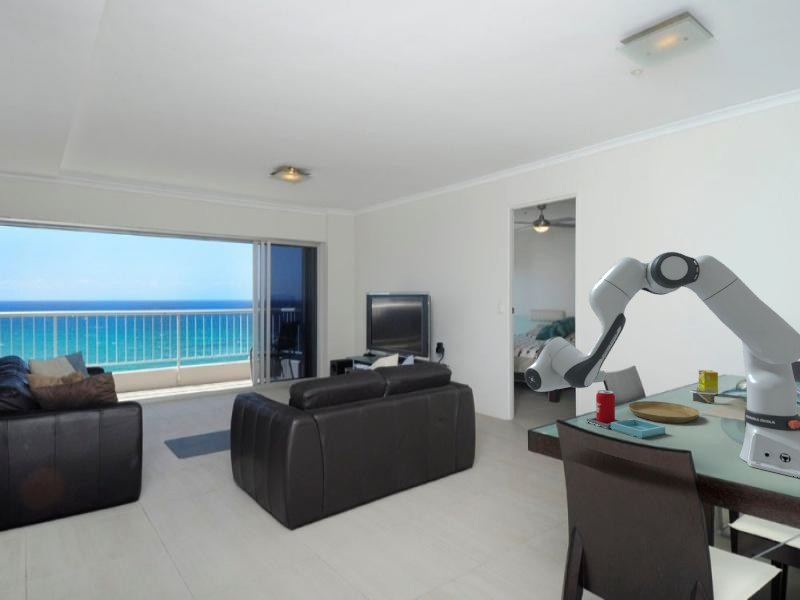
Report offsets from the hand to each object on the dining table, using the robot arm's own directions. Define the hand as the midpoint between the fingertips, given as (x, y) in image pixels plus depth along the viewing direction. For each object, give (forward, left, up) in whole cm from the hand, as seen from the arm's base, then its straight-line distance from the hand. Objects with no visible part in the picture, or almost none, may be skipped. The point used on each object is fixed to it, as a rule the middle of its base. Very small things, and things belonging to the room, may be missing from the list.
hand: (586, 370), depth 163 cm
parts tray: (-9, -14, -21) cm, 27 cm away
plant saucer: (0, -42, -21) cm, 47 cm away
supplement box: (+16, -98, -21) cm, 101 cm away
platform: (+7, -79, -22) cm, 83 cm away
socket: (+2, -12, -21) cm, 24 cm away
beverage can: (+2, -12, -21) cm, 24 cm away
